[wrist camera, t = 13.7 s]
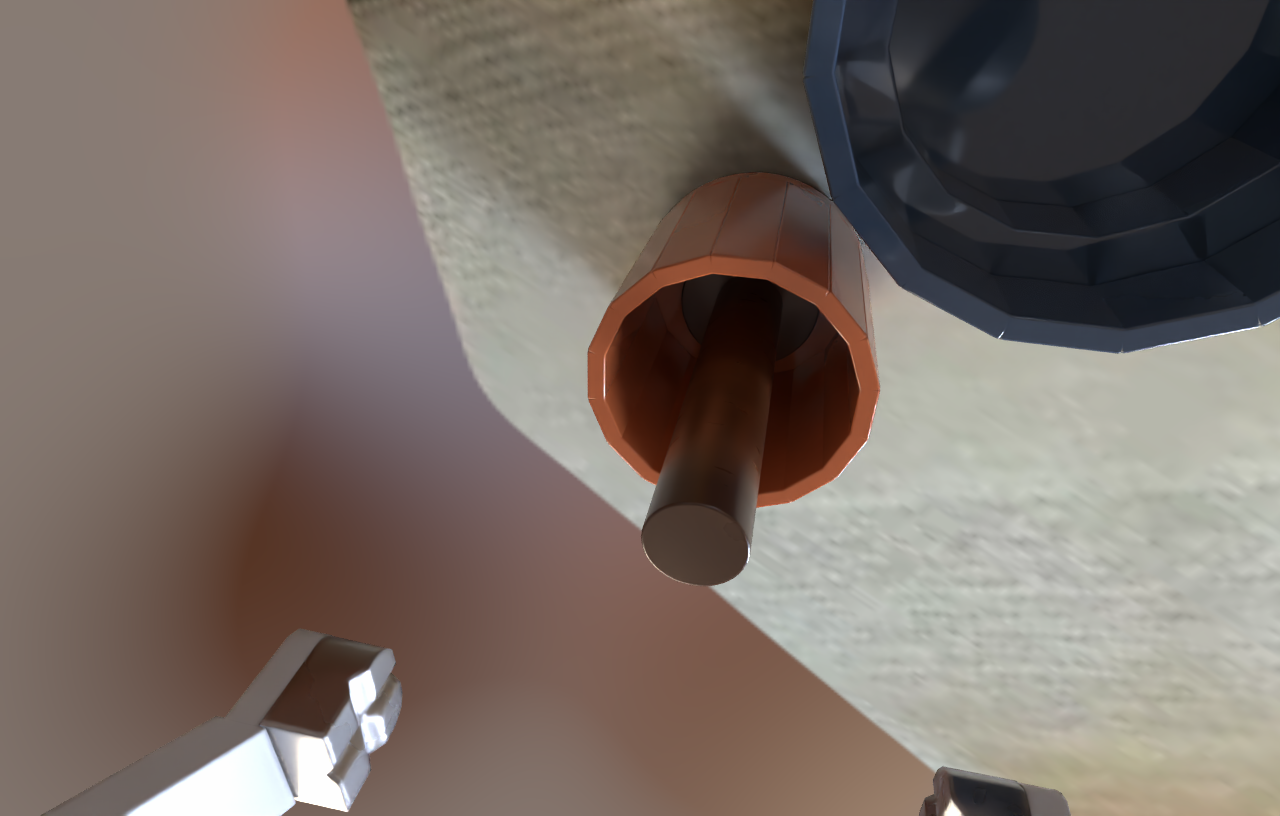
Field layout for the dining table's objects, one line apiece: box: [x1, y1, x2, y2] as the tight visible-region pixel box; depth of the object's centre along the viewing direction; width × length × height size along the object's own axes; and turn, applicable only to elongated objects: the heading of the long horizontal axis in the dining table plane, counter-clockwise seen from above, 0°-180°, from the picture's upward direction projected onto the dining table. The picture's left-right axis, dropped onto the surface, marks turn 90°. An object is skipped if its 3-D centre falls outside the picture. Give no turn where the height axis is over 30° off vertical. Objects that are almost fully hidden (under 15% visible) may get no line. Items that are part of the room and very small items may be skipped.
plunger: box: [641, 274, 819, 586], centre depth 20 cm, size 5×5×13 cm
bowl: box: [803, 0, 1280, 354], centre depth 17 cm, size 14×14×6 cm
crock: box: [588, 172, 880, 508], centre depth 23 cm, size 8×8×8 cm
